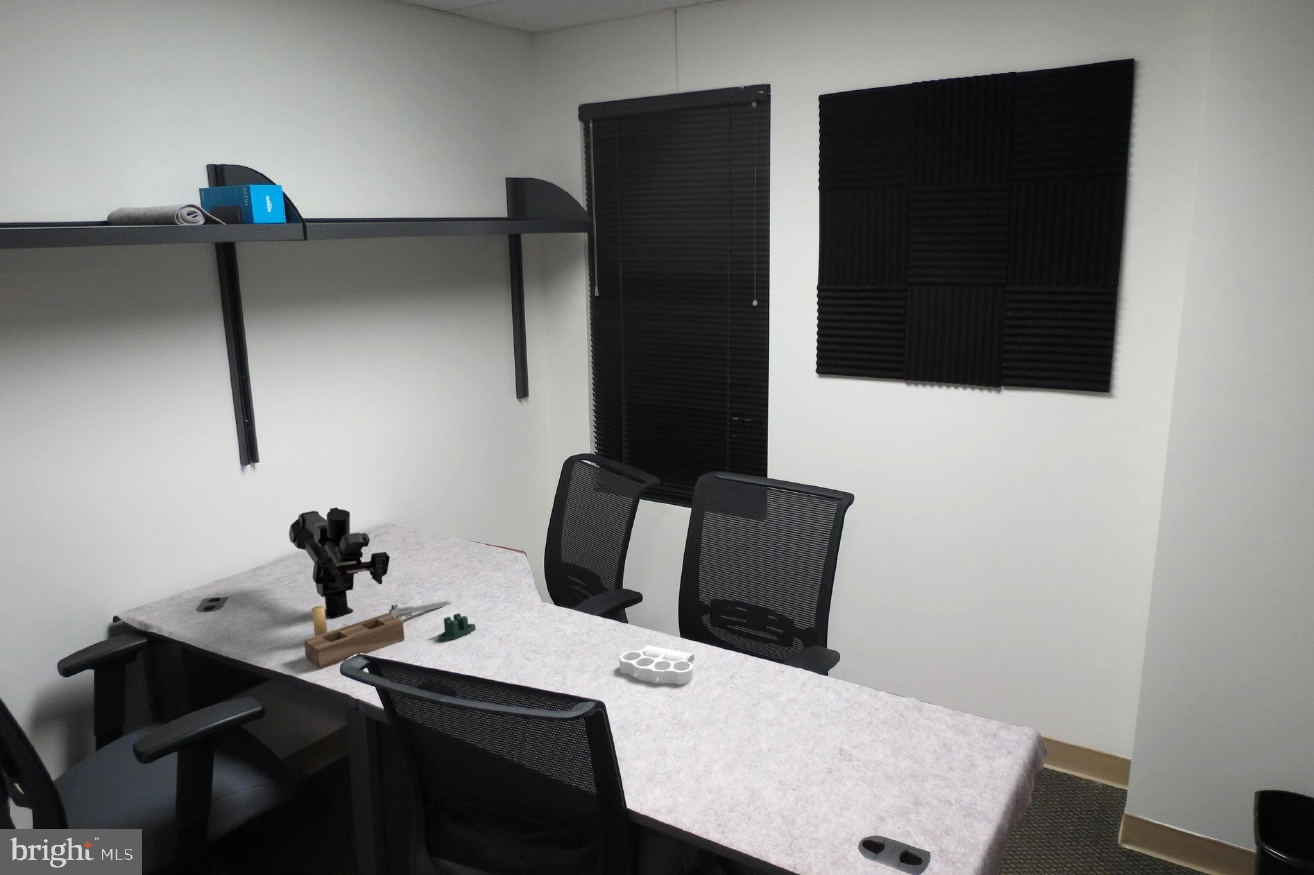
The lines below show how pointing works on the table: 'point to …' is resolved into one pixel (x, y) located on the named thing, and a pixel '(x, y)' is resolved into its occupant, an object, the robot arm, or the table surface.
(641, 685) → the table surface
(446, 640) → the mount
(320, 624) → the peg
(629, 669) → the white brass knuckles
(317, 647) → the hole block
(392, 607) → the caliper
